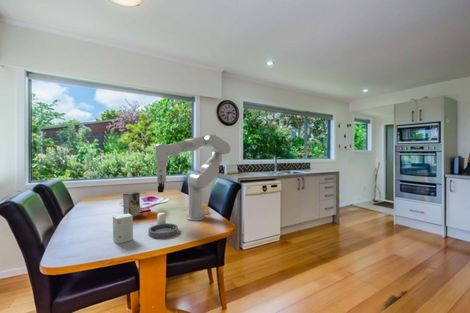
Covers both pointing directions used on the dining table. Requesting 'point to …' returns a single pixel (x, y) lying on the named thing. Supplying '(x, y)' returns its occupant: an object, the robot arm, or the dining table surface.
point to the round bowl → (163, 230)
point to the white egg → (161, 218)
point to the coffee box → (131, 203)
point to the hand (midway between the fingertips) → (161, 190)
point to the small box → (122, 228)
